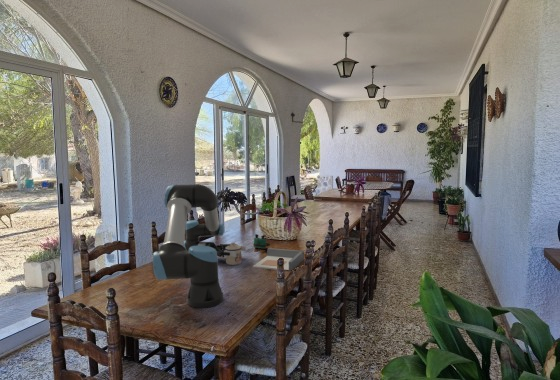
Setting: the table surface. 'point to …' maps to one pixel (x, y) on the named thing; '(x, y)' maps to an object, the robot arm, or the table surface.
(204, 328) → the table surface
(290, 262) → the tray
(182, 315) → the table surface
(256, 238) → the binoculars
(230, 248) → the teacup with lid
